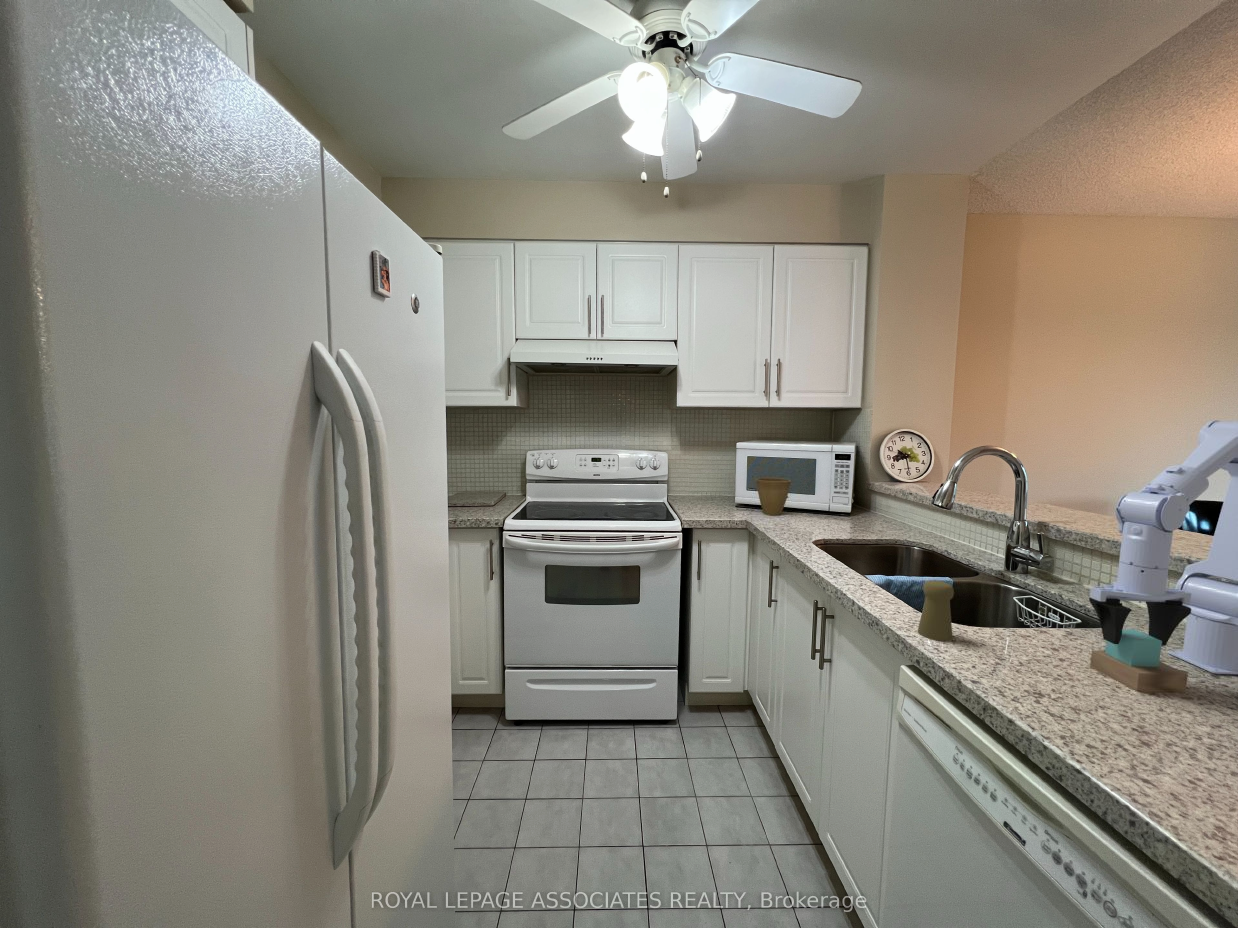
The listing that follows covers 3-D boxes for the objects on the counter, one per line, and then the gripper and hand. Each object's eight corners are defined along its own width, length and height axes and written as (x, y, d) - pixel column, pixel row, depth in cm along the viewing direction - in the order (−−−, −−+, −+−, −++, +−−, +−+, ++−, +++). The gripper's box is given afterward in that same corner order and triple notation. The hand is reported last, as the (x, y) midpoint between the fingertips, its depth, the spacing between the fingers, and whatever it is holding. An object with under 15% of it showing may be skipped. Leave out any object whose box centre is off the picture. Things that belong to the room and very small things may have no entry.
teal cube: (1131, 653, 87) (1134, 629, 87) (1158, 666, 83) (1162, 640, 82) (1105, 652, 88) (1108, 628, 87) (1130, 665, 83) (1134, 639, 83)
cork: (920, 625, 106) (924, 575, 104) (954, 634, 102) (958, 581, 101) (915, 635, 101) (919, 582, 100) (950, 644, 97) (955, 589, 96)
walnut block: (1134, 669, 89) (1136, 650, 89) (1185, 694, 81) (1187, 673, 81) (1089, 669, 89) (1091, 650, 89) (1136, 693, 81) (1138, 673, 81)
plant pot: (787, 512, 234) (788, 478, 233) (790, 518, 220) (792, 482, 218) (754, 510, 238) (755, 476, 236) (755, 516, 223) (757, 480, 222)
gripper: (1163, 558, 87) (1154, 633, 89) (1077, 556, 88) (1069, 630, 89) (1209, 571, 80) (1198, 652, 82) (1115, 568, 81) (1106, 648, 82)
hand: (1134, 642), depth 85 cm, fingers open, 7 cm apart
